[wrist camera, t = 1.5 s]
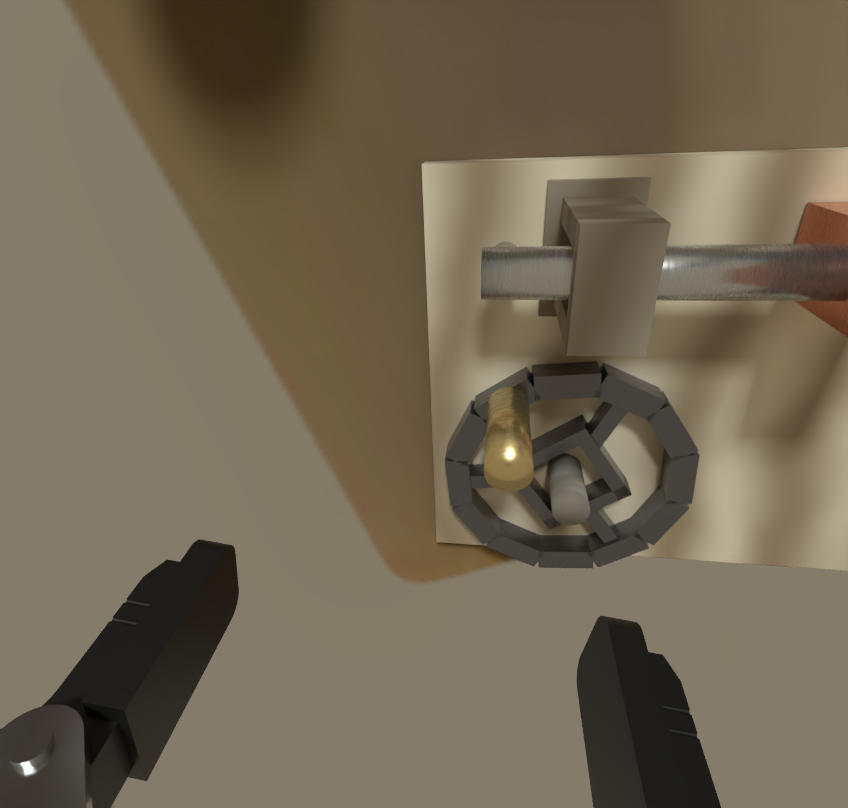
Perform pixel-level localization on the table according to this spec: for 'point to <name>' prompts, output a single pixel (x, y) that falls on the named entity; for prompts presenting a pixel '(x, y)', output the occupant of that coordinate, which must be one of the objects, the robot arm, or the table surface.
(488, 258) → the copper cube on rod
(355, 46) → the table surface
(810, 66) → the table surface
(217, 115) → the table surface
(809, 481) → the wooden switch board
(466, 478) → the handwheel
